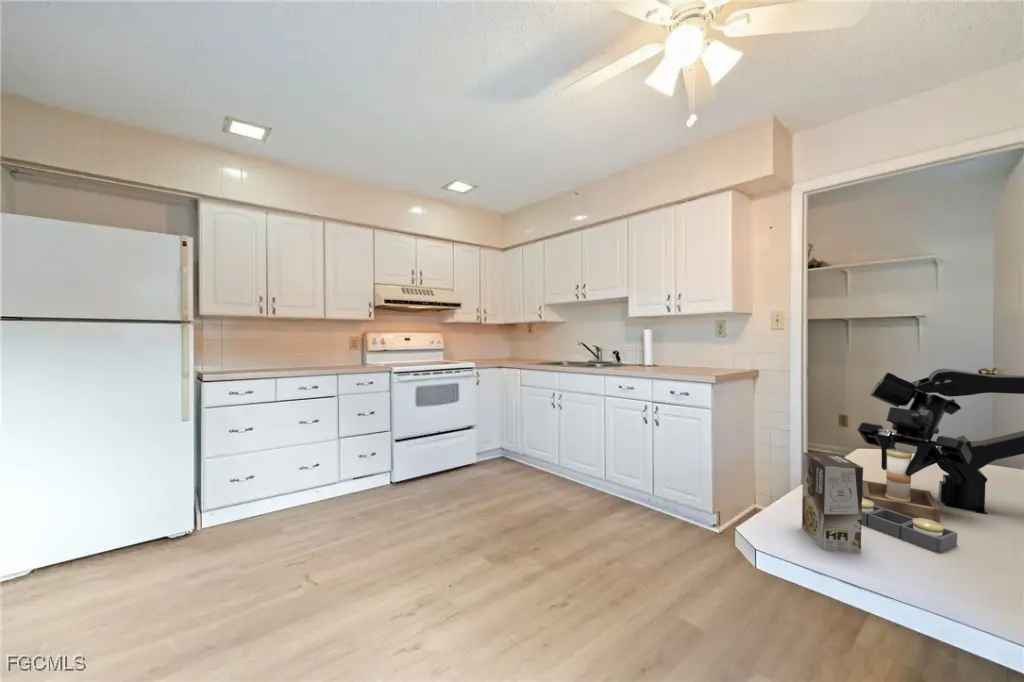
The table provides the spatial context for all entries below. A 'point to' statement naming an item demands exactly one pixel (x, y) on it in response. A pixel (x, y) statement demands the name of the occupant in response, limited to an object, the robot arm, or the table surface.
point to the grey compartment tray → (907, 530)
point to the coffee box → (832, 501)
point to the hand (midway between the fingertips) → (894, 471)
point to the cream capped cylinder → (898, 475)
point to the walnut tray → (918, 507)
